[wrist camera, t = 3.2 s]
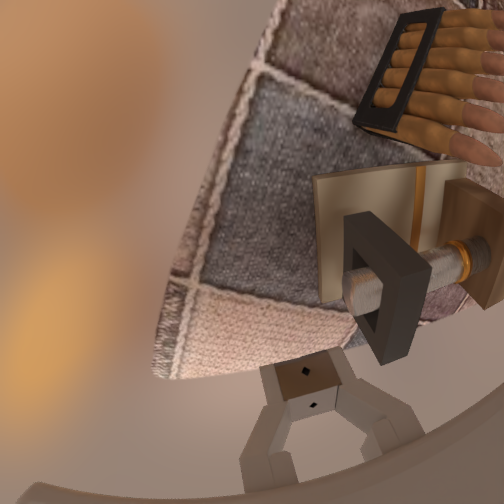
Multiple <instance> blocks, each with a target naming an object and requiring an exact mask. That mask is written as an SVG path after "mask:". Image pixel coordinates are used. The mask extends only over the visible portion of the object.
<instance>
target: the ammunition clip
mask: <svg viewBox="0 0 504 504" xmlns="http://www.w3.org/2000/svg"><path fill="white" fill-rule="evenodd" d="M500 30H504V11H495V10H482V9H476V8H470V9H459V10H450V11H446V9H445V8H444V7H439V8H432V9H426V10H420V11H414V12H409V13H404V14H400V17H399V19H398V21H397V24H396V26H395V28H394V31H393V33H392V35H391V37H390V40H389V42H388V44H387V47H386V49H385V51H384V53H383V55H382V58H381V60H380V62H379V64H378V67H377V69H376V71H375V73H374V75H373V78H372V80H371V82H370V84H369V86H368V88H367V91H366V93H365V95H364V97H363V99H362V101H361V103H360V105H359V108H358V110H357V112H356V114H355V116H354V118H353V120H352V121H353V124H354V125H356V126H357V127H359V128H361V129H362V130H364V131H366V132H367V133H369V134H370V135H374V136H378V137H382V138H386V139H390V140H394V141H398V142H401V143H405V144H408V145H412V146H414V145H415V146H418V147H421V148H423V149H426V150H429V151H431V152H434V153H442V154H447V155H449V156H452V157H457V158H459V159H462V160H464V161H467V162H470V163H474V164H477V165H482V166H490V167H496V166H501V165H502V164H503V162H502V160H501V158H500V157H499V156H498V155H497V154H496V153H495V152H494V151H493V150H491V149H490V148H489V147H487V146H486V145H485V144H483V143H481V142H480V141H478V140H476V139H474V138H472V137H470V136H467V135H464V134H461V133H460V132H458V131H455V130H452V129H450V128H448V127H446V126H444V125H443V124H445V125H459V126H464V127H468V128H473V129H477V130H481V131H486V132H492V133H504V117H503V116H501V115H499V114H498V113H496V112H494V111H492V110H489V109H487V108H484V107H481V106H478V105H474V104H471V103H468V102H465V101H461V100H458V99H477V100H485V101H490V102H498V103H504V83H502V82H500V81H497V80H493V79H490V78H485V77H480V76H476V75H475V74H486V75H489V74H491V75H499V76H504V55H502V54H497V53H489V52H484V51H504V31H500Z"/></svg>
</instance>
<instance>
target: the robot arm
mask: <svg viewBox="0 0 504 504" xmlns="http://www.w3.org/2000/svg"><path fill="white" fill-rule="evenodd" d="M259 368H260V374H261V378H262V383H263V387H264V391H265V395H266V399H267V404H268V405H266V406H264V407H263V409H262V411H261V414H260V416H259V418H258V420H257V423H256V424H255V427H254V429H253V431H252V433H251V435H250V437H249V439H248V441H247V444H246V446H245V448H244V450H243V452H242V454H241V456H240V458H239V461H240V467H241V472H242V479H243V484H244V491H245V494H238V495H231V496H221V497H209V498H192V499H148V498H131V497H119V496H110V495H103V494H95V493H89V492H83V491H78V490H72V489H68V488H63V487H59V486H54V485H51V484H47V483H43V482H35V483H34V484H32V485H31V486H30V487H29V488H28V489H27V490H26V491H25V492H24V493H23V494H22V495H21V496H20V498H19V499H18V500H17V502H16V504H504V383H502V384H501V385H500V386H499V387H497V388H496V389H495V390H494V391H492V392H491V393H490V394H488V395H487V396H485V397H484V398H483V399H481V400H480V401H479V402H477V403H476V404H474V405H473V406H471V407H470V408H468V409H467V410H465V411H464V412H462V413H461V414H459V415H458V416H456V417H454V418H453V419H451V420H450V421H448V422H446V423H445V424H443V425H441V426H440V427H438V428H436V429H434V430H432V431H431V432H429V433H427V434H425V432H424V430H423V428H422V427H421V424H420V423H419V421H418V419H417V417H416V415H415V414H414V411H413V410H412V408H411V406H410V405H408V404H406V403H404V402H402V401H400V400H399V399H397V398H395V397H393V396H391V395H390V394H387V393H386V392H384V391H382V390H380V389H379V388H377V387H375V386H373V385H371V384H370V383H368V382H366V381H364V380H363V379H361V378H360V379H357V378H356V376H355V374H354V372H353V370H352V368H351V366H350V364H349V362H348V360H347V358H346V356H345V354H344V352H343V350H342V348H341V347H340V346H336V347H333V348H330V349H327V350H322V351H319V352H315V353H312V354H308V355H305V356H302V357H300V358H295V359H291V360H287V361H283V362H278V363H274V364H269V365H265V366H260V367H259ZM332 410H335V411H336V412H338V413H339V414H340V415H341V416H343V417H344V418H346V419H347V420H348V421H349V422H351V423H352V424H353V425H355V426H356V427H357V428H359V429H360V430H362V431H363V432H365V433H366V434H367V437H366V439H365V441H364V443H363V445H362V447H361V449H360V450H361V453H362V455H363V458H364V460H365V462H364V463H362V464H359V465H356V466H354V467H351V468H348V469H345V470H342V471H339V472H336V473H333V474H329V475H326V476H323V477H319V478H316V479H312V480H309V481H305V482H301V483H299V482H298V479H297V475H296V472H295V468H294V465H293V461H292V458H291V454H290V453H289V452H287V451H282V449H283V447H284V444H285V441H286V439H287V435H288V433H289V430H290V426H291V424H292V422H294V421H298V420H301V419H304V418H308V417H311V416H314V415H318V414H322V413H325V412H329V411H332Z"/></svg>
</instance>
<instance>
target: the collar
mask: <svg viewBox="0 0 504 504" xmlns="http://www.w3.org/2000/svg"><path fill="white" fill-rule="evenodd" d="M343 221H344V256H343V274H344V272H348V271H352V270H355V269H359V268H363V267H367V266H369V267H370V268H371V269H372V271H373V272H374V273H375V274H376V276H377V277H378V278H379V279H380V281H381V282H382V283H383V289H382V295H381V302H380V308H379V309H378V310H375V311H372V312H369V313H366V314H362V315H359V316H356V317H355V316H353V317H354V319H355V321H356V322H357V324H358V326H359V328H360V329H361V331H362V333H363V335H364V336H365V338H366V340H367V342H368V343H369V345H370V347H371V349H372V351H373V352H374V354H375V356H376V358H377V360H378V362H379V363H380V365H381V366H382V365H385V364H387V363H390V362H393V361H395V360H398V359H400V358H402V357H405V356H407V355H408V352H409V349H410V346H411V343H412V340H413V337H414V334H415V331H416V328H417V325H418V322H419V318H420V315H421V311H422V308H423V304H424V301H425V297H426V293H427V289H428V285H429V281H430V277H431V273H432V268H433V267H432V266H431V265H430V264H429V263H428V262H426V261H425V260H424V259H423V258H422V257H421V256H420V255H419V254H418V253H417V252H416V251H415V250H414V249H413V248H412V247H411V246H410V245H408V244H407V243H406V242H405V241H404V240H403V239H402V238H401V237H400V236H399V235H397V234H396V233H395V232H394V231H393V230H392V229H391V228H390V227H388V226H387V225H386V224H385V223H384V222H383V221H381V220H380V219H379V218H378V217H377V216H376V215H374V214H373V213H372V212H371V211H366V212H360V213H355V214H350V215H345V216H343ZM342 298H343V300H344V296H343V292H342ZM344 302H345V300H344Z"/></svg>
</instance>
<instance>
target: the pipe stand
mask: <svg viewBox="0 0 504 504" xmlns="http://www.w3.org/2000/svg"><path fill="white" fill-rule="evenodd" d="M466 173H467V162H466V161H464V160H461V159H451V160H438V161H426V162H415V163H405V164H395V165H386V166H378V167H369V168H362V169H354V170H347V171H340V172H333V173H326V174H320V175H313V176H312V182H313V194H314V207H315V222H316V239H317V260H318V289H319V298H320V300H321V302H322V304H323V303H327V302H330V301H334V300H338V299H342V292H343V291H342V276H343V256H344V221H343V216H345V215H350V214H355V213H360V212H366V211H371V212H372V213H373V214H374V215H376V216H377V217H378V218H379V219H380V220H381V221H383V222H384V223H385V224H386V225H387V226H388V227H390V228H391V229H392V230H393V231H394V232H395V233H396V234H397V235H399V236H400V237H401V238H402V239H403V240H404V241H405V242H406V243H407V244H408V245H410V246H411V247H412V248H413V249H414V250H415V251H416V252H417V253H419V252H422V251H426V250H429V249H433V248H436V247H439V246H443V245H444V244H445V243H446V242H449V241H452V240H463V239H466V238H469V237H473V236H476V235H479V236H482V237H483V238H485V240H486V241H487V242H488V244H489V246H490V249H491V262H490V265H489V266H488V268H487V269H485V270H483V271H481V272H479V273H476V274H474V275H471V276H469V278H468V279H467V280H465V281H462V282H460V283H459V284H460V285H461V286H462V287H463V288H464V289H465V290H466V291H467V292H468V294H469V295H470V296H471V297H472V298H473V299H474V300H475V301H476V302H477V303H478V304H479V305H480V306H481V307H482V309H483V310H486V309H487V308H489V307H491V306H493V305H494V304H496V303H498V302H500V301H502V300H503V299H504V198H502V197H500V196H498V195H497V194H495V193H493V192H492V191H490V190H488V189H486V188H484V187H483V186H481V185H479V184H477V183H475V182H473V181H471V180H469V179H467V178H466Z"/></svg>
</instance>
